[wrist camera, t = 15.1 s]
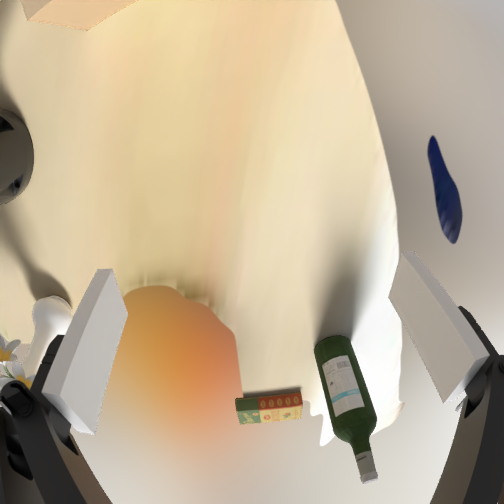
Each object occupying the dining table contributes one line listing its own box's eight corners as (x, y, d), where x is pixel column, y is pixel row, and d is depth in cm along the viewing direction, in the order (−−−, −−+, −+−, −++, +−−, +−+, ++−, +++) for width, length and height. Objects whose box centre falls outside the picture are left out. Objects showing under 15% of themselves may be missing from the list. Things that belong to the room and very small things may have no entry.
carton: (299, 405, 74) (301, 419, 70) (238, 412, 74) (239, 426, 70) (300, 390, 69) (303, 405, 66) (234, 397, 69) (235, 412, 66)
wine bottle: (326, 363, 63) (358, 489, 38) (306, 349, 60) (337, 488, 35) (356, 345, 61) (399, 472, 36) (338, 329, 57) (384, 471, 32)
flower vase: (66, 263, 45) (0, 381, 24) (99, 338, 55) (66, 447, 34) (15, 266, 45) (-51, 365, 24) (50, 335, 55) (11, 430, 34)
